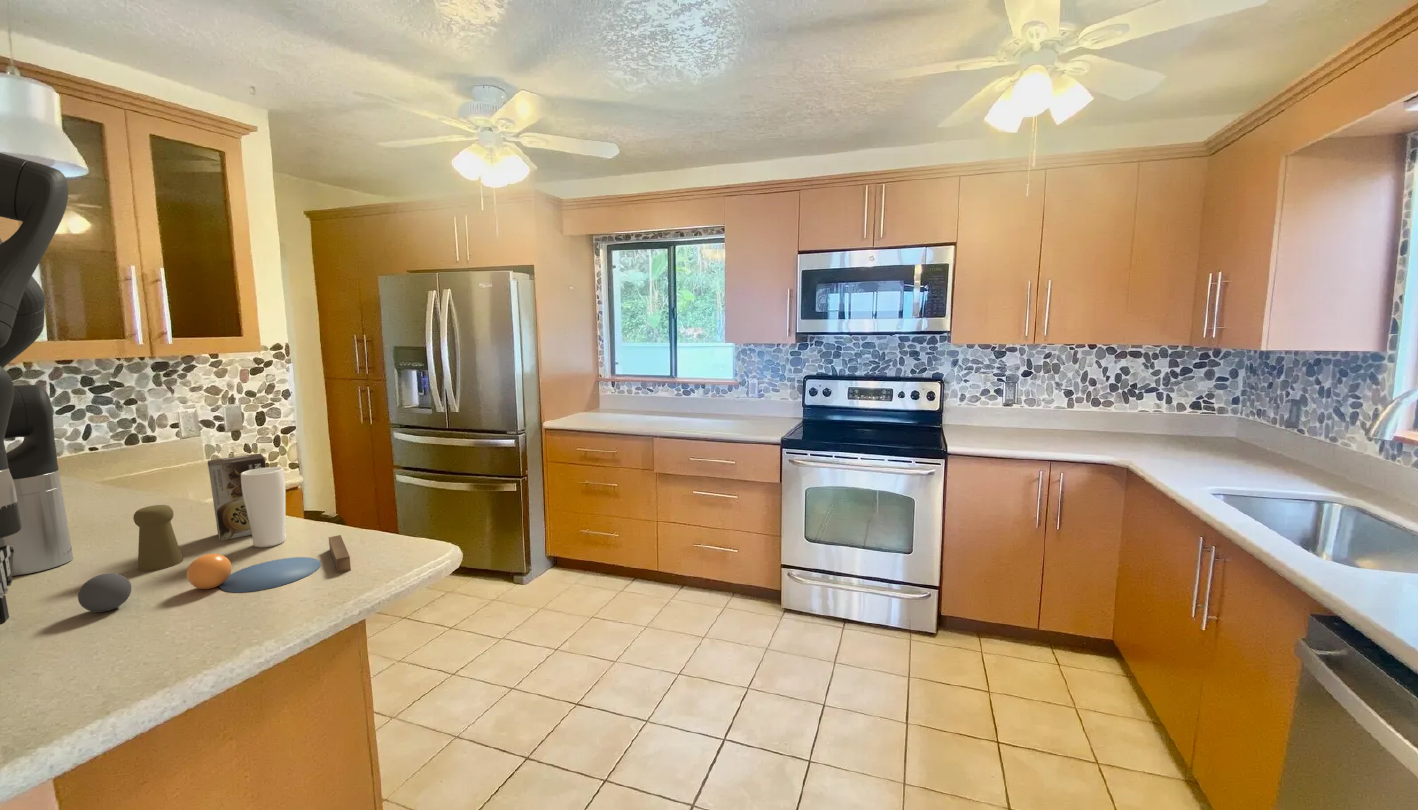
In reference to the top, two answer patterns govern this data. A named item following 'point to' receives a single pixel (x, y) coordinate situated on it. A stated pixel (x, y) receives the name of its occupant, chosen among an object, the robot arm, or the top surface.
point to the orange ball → (209, 571)
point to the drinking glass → (265, 505)
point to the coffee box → (231, 493)
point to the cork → (156, 538)
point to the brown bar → (339, 554)
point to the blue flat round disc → (270, 574)
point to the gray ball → (104, 592)
